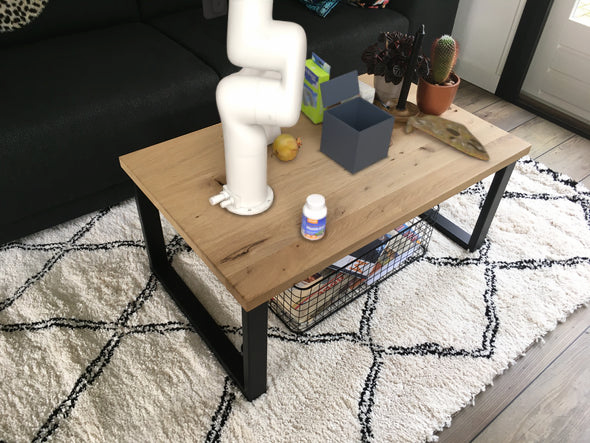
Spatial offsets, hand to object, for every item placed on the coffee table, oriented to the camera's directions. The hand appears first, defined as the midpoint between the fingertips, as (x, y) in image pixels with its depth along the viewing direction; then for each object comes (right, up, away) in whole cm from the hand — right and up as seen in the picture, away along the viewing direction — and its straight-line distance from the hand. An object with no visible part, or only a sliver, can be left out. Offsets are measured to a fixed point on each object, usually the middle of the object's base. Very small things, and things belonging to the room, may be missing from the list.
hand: (196, 4), depth 67 cm
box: (+18, +3, +84) cm, 86 cm away
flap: (+25, +5, +63) cm, 68 cm away
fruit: (+10, -12, +68) cm, 70 cm away
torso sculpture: (+3, -7, +73) cm, 73 cm away
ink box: (+31, +1, +83) cm, 88 cm away
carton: (+29, -11, +70) cm, 77 cm away
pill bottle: (+17, -32, +47) cm, 59 cm away
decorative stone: (+58, -7, +79) cm, 98 cm away
